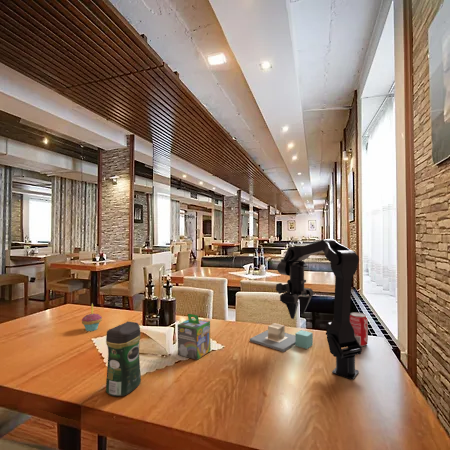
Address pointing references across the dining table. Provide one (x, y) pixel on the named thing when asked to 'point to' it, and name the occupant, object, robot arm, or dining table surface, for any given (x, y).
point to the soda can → (360, 327)
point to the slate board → (274, 341)
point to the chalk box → (194, 337)
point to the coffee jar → (123, 359)
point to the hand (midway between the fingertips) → (297, 316)
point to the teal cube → (304, 339)
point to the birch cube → (276, 331)
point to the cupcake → (91, 320)
